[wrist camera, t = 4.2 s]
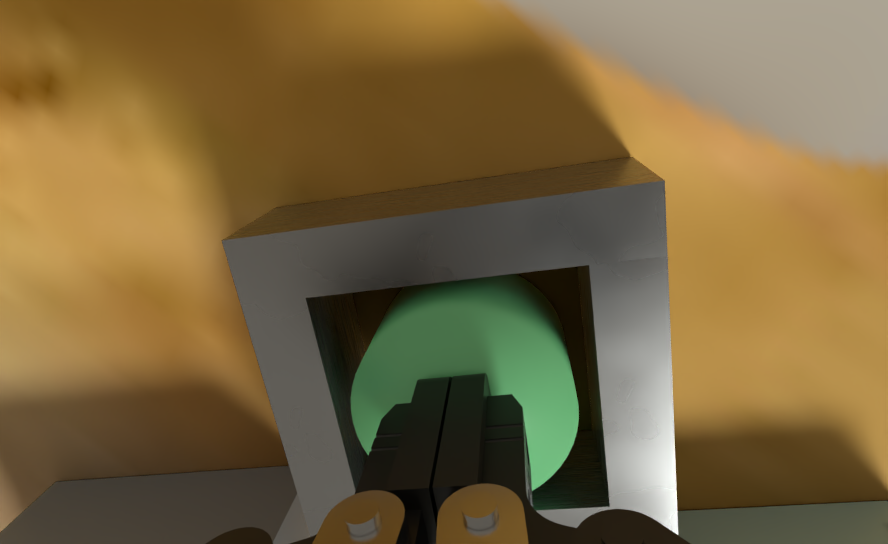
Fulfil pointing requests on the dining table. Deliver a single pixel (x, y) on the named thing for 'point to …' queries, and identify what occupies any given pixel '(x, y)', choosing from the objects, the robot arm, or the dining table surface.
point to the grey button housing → (458, 258)
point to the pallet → (163, 509)
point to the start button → (474, 358)
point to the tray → (788, 524)
